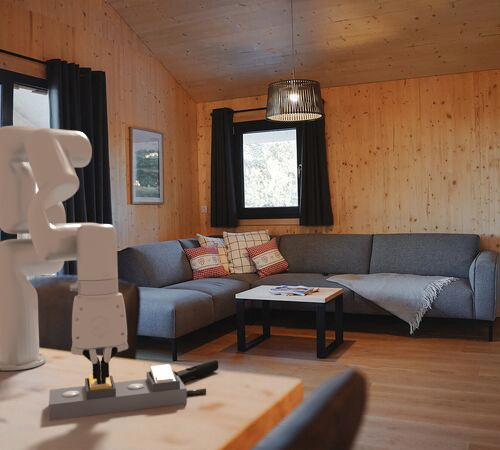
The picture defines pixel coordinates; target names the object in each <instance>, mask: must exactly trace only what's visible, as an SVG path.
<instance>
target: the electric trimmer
mask: <svg viewBox="0 0 500 450" xmlns="http://www.w3.org/2000/svg"><path fill="white" fill-rule="evenodd" d="M218 370H219V361H218V360H217V359H216V360H210V361H207V362H204V363H201V364H198V365H193V366H190V367H186V368H185V369H182V370H179V371H175V370H173V372H174V373H175V375H176V376H178V377H179V378H180V379H181V381H182V382H183V383H185V382H188V381H191V380H194V379H202V378H203V377H206V376H207V375H210V374H212V373H214V372H216V371H218Z"/></svg>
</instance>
